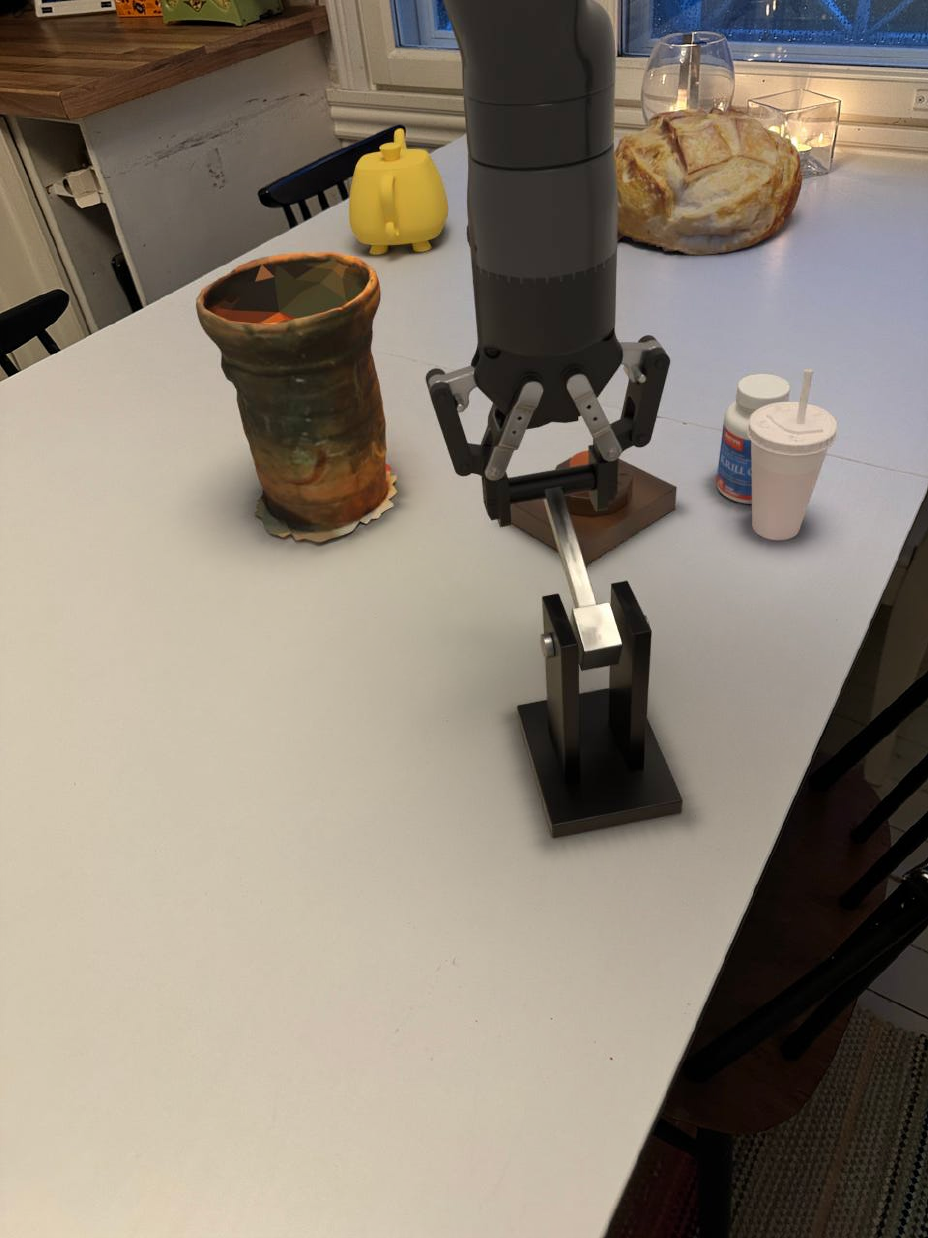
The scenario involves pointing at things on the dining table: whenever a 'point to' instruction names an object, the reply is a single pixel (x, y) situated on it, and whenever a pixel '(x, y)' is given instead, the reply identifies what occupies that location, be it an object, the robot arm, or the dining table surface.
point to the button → (579, 459)
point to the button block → (603, 512)
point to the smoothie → (787, 461)
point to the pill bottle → (744, 433)
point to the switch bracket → (597, 729)
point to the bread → (705, 181)
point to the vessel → (305, 387)
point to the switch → (573, 560)
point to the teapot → (397, 198)
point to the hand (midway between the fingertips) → (551, 510)
